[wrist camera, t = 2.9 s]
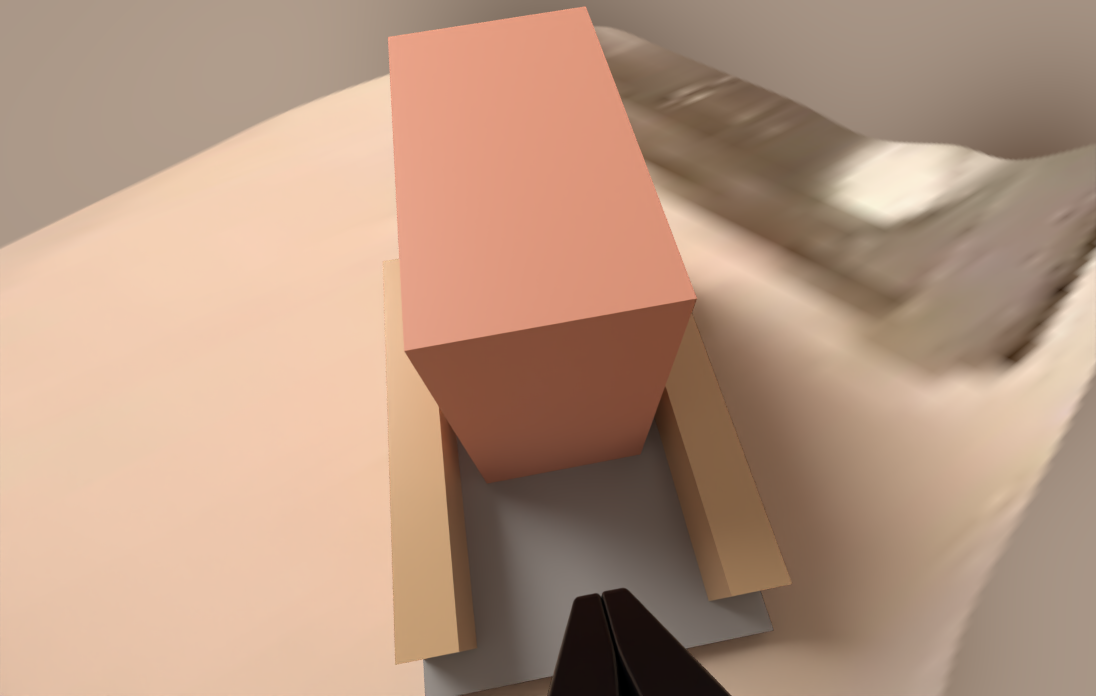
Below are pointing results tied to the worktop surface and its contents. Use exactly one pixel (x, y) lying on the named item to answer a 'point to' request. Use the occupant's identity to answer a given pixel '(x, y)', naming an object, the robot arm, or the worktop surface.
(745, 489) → the chute
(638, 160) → the block
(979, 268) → the worktop surface
